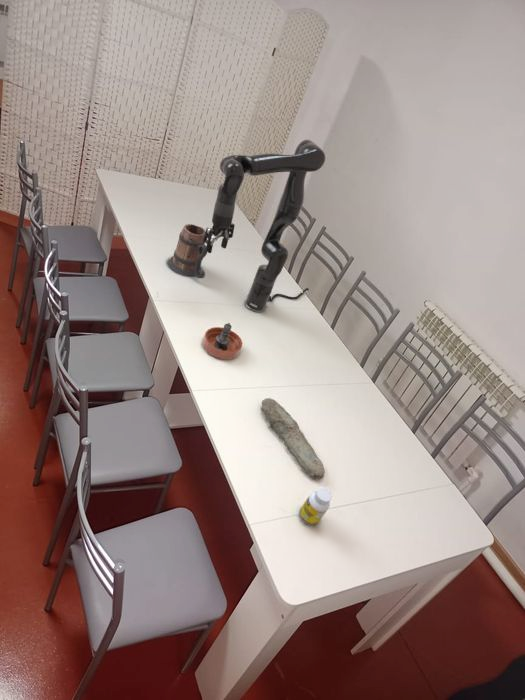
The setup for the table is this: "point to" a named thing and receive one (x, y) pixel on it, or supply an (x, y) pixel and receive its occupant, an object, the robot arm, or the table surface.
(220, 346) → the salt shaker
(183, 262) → the tankard
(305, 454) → the long grey stone
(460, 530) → the table surface
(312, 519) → the pill bottle
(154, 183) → the table surface
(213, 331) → the bowl
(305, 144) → the robot arm
